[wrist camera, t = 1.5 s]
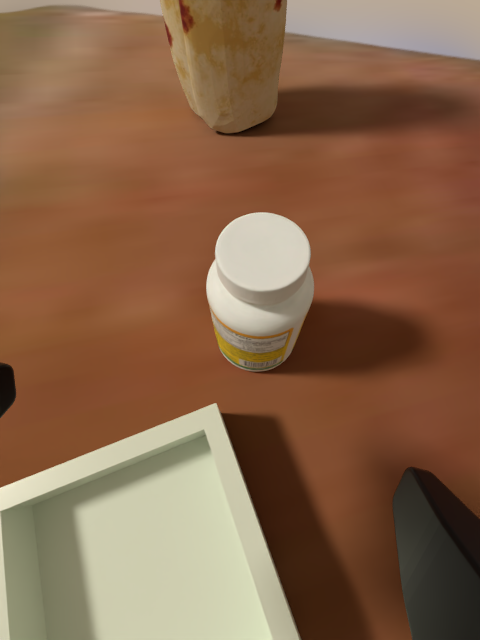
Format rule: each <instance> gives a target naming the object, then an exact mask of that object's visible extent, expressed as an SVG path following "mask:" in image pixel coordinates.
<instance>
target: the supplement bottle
mask: <svg viewBox="0 0 480 640" xmlns="http://www.w3.org/2000/svg"><path fill="white" fill-rule="evenodd" d="M215 256H216V259H215V261H214V262H213V264H212V266H211V268H210V270H209V273H208V277H207V284H206V290H207V297H208V302H209V307H210V311H211V315H212V320H213V324H214V329H215V333H216V338H217V342H218V345H219V348H220V350H221V352H222V354H223V355H224V356H225V358H226V359H227V360H228V361H230V362H231V363H232V364H233V365H235V366H237V367H239V368H241V369H244V370H248V371H254V372H259V371H266V370H270V369H273V368H275V367H277V366H278V365H280V364H281V363H283V362H284V361H285V360H286V359H287V358H288V356H289V355H290V354H291V352H292V350H293V348H294V346H295V343H296V341H297V338H298V335H299V333H300V330H301V328H302V325H303V323H304V320H305V318H306V315H307V313H308V311H309V308H310V306H311V303H312V299H313V294H314V280H313V276H312V272H311V270H310V268H309V262H310V257H311V251H310V245H309V241H308V239H307V237H306V235H305V234H304V232H303V231H302V230H301V229H300V227H299V226H297V225H296V224H295V223H294V222H292V221H290V220H289V219H287V218H285V217H283V216H280V215H277V214H272V213H252V214H247V215H244V216H241V217H239V218H237V219H235V220H234V221H232V222H231V223H230V224H228V225H227V226H226V227H225V228H224V230H223V231H222V232H221V234H220V236H219V238H218V240H217V243H216V249H215Z"/></svg>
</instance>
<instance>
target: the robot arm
mask: <svg viewBox="0 0 480 640" xmlns="http://www.w3.org/2000/svg"><path fill="white" fill-rule="evenodd" d="M15 398H16V388H15V379H14V371H13V368H12V367H11V366H10V365H8V364H5V363H1V362H0V418H1V417H2V415H3V414H4V413H5V412H6V411H7V410H8V409H9V408H10V407H11V405H12V404H13V402H14V401H15ZM393 515H394V524H395V533H396V541H397V550H398V559H399V568H400V577H401V584H402V591H403V596H404V601H405V607H406V611H407V616H408V621H409V626H410V630H411V635H412V640H480V519H479V518H478V517H477V516H476V515H475V514H474V513H473V512H472V511H471V510H470V509H469V508H468V507H466V506H465V505H464V504H463V503H462V502H461V501H460V500H459V499H458V498H457V497H456V496H455V495H454V494H453V493H452V492H451V491H450V490H449V489H448V488H447V487H446V486H445V485H444V484H443V483H442V482H441V481H440V480H439V479H438V478H437V477H436V476H435V475H434V474H432V473H431V472H429V471H427V470H423V469H419V468H415V467H409V468H407V469H406V470H405V472H404V474H403V476H402V478H401V480H400V483H399V485H398V487H397V489H396V491H395V494H394V497H393Z"/></svg>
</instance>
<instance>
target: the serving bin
mask: <svg viewBox="0 0 480 640" xmlns="http://www.w3.org/2000/svg"><path fill="white" fill-rule="evenodd" d="M0 640H301V637H300V634H299V632H298V629H297V626H296V623H295V620H294V617H293V615H292V612H291V609H290V606H289V603H288V600H287V598H286V595H285V592H284V589H283V586H282V584H281V581H280V578H279V575H278V572H277V569H276V567H275V564H274V561H273V558H272V555H271V553H270V550H269V547H268V544H267V541H266V538H265V536H264V533H263V530H262V527H261V524H260V521H259V519H258V516H257V513H256V510H255V507H254V505H253V502H252V499H251V496H250V493H249V490H248V488H247V485H246V482H245V479H244V476H243V473H242V471H241V468H240V465H239V462H238V459H237V457H236V454H235V451H234V448H233V445H232V442H231V440H230V437H229V434H228V431H227V428H226V426H225V423H224V420H223V417H222V414H221V412H220V410H219V408H218V406H217V404H216V403H215V404H212V405H210V406H207V407H205V408H202V409H200V410H197V411H194V412H192V413H189V414H187V415H184V416H182V417H179V418H177V419H174V420H172V421H169V422H167V423H164V424H161V425H159V426H156V427H154V428H151V429H149V430H146V431H144V432H141V433H139V434H136V435H134V436H131V437H129V438H126V439H123V440H121V441H118V442H116V443H113V444H111V445H108V446H106V447H103V448H101V449H98V450H96V451H93V452H90V453H88V454H85V455H83V456H80V457H78V458H75V459H73V460H70V461H68V462H65V463H63V464H60V465H57V466H55V467H52V468H50V469H47V470H45V471H42V472H40V473H37V474H35V475H32V476H30V477H27V478H25V479H22V480H19V481H17V482H14V483H12V484H9V485H7V486H4V487H2V488H0Z"/></svg>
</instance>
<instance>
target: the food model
mask: <svg viewBox="0 0 480 640" xmlns="http://www.w3.org/2000/svg"><path fill="white" fill-rule="evenodd" d="M160 3H161V8H162V13H163V18H164V22H165V27H166V32H167V36H168V41H169V45H170V49H171V53H172V57H173V61H174V64H175V67H176V70H177V73H178V76H179V79H180V82H181V85H182V87H183V90H184V93H185V95H186V97H187V100H188V102H189V105H190V107H191V109H192V110H193V111H194V112H195V113H196V114H197V115H199V116H200V117H201V118H202V119H203V120H204V121H205V122H206V123H207V124H208V125H209V127H210V128H211V129H213V130H216V131H220V132H223V133H235V132H240V131H243V130H245V129H248V128H250V127H253V126H255V125H257V124H259V123H262V122H264V121H265V120H267V119H269V118H270V117H271V116H272V115H273V113H274V111H275V109H276V106H277V99H278V81H279V73H280V67H281V60H282V53H283V46H284V37H285V24H286V7H287V0H160Z"/></svg>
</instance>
